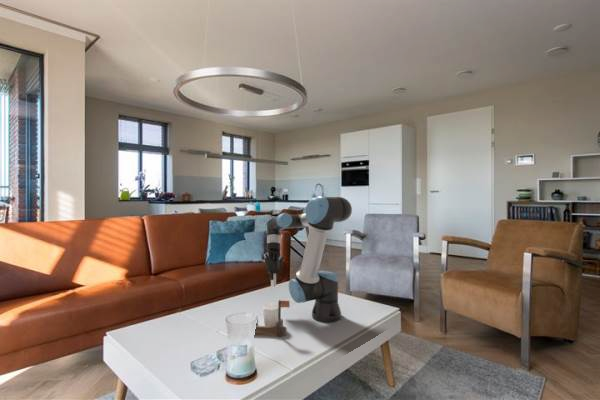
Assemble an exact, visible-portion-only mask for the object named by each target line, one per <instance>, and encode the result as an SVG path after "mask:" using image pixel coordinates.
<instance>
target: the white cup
mask: <svg viewBox="0 0 600 400" xmlns="http://www.w3.org/2000/svg"><path fill="white" fill-rule="evenodd" d="M262 308H263V322H264V326H271V327H278V303H267V304H265V305H263V307H262Z"/></svg>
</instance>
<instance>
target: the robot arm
mask: <svg viewBox="0 0 600 400" xmlns="http://www.w3.org/2000/svg"><path fill="white" fill-rule="evenodd" d="M305 206H306V207H305V210H304V213H300V214H289V213H287V212H283V213H280V214H278V216H275V215H273V216H270V217H267V221H266V250H267V251H266V253H265V254H263V255H262V257H263V259H264V264H265V268H266V272H267V273H268V274H269V280H270V287H271V288H274V287H277V280H278V274H280V273H281V270H282V265H283V260H284V259H285V257H284V256H282V255H281V231H282V230H285V229H296V228H297V229H299V228H300V229H301V228H303V229H304V228H309V232H308V235H307V240H306V244H305V247H304V253H303V256H302V260H301V266H300V269H299V270H297V271H296V273H295V278H291V279H289V282H288V291H289V294H290V297H291V298H292V300H293V301H294V302H295V303H298V304H301V303H307V302H312V301H314V302H315V303H314V304H313V307H312V310H311V317H312V319H314V320H315V321H318V322H323V323H333V322H332V321H334V322H337V320H338V321H340V320H341V319H342V312H341V306H340V304H339V276H338V274H337V273H335V272H333V271H327V270H320V267H321V262H322V259H323V253H324V251H325V250H324V249H325V246H326V242H327V238H328V235H329V232H330V231H332V230H333V228H334V224H335V223H339V222H341V223H342V222H344V221H346V220H348V219H349V218H350V217H351V215H352V213H353V212H352V211H353V210H352V209H353V208H352V207H353V206H352V205H351V202H350V201H349V200H348V199H346V198H344V197H341V196H318V197H316V196H315V197H312V198H311V199H309V201H308V202H307V203H306V205H305ZM340 318H341V319H340Z"/></svg>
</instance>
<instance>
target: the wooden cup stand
mask: <svg viewBox="0 0 600 400" xmlns="http://www.w3.org/2000/svg"><path fill="white" fill-rule="evenodd" d="M277 304H278V327H271V326H265V325H264V326H263V325H259V318H258V319H257V323H256V329H255V335H254V336H276V337H277V336H278V338H280V337H285V336H286V326H284V318H282V317H281V314H282V313H281V311H282V310H281V309H282V308H290V300H281V299H278V303H277Z"/></svg>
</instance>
